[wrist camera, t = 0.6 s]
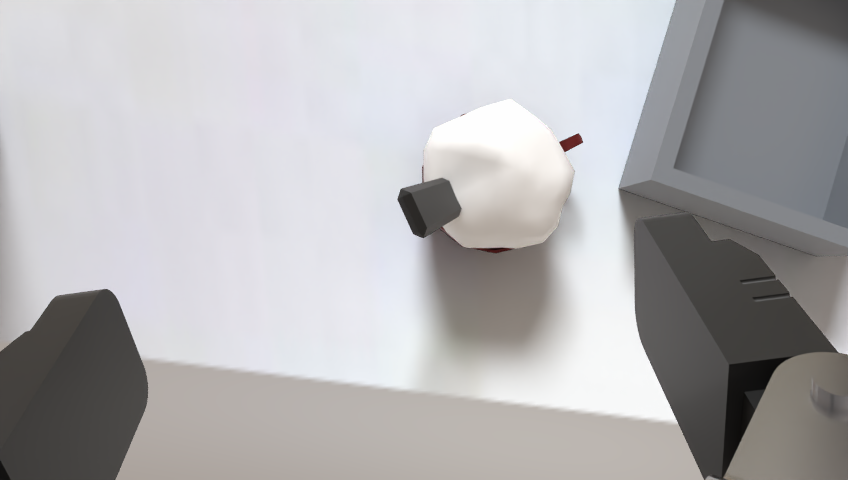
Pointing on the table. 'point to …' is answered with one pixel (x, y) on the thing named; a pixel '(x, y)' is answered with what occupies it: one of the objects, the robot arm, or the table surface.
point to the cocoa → (491, 180)
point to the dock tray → (751, 120)
